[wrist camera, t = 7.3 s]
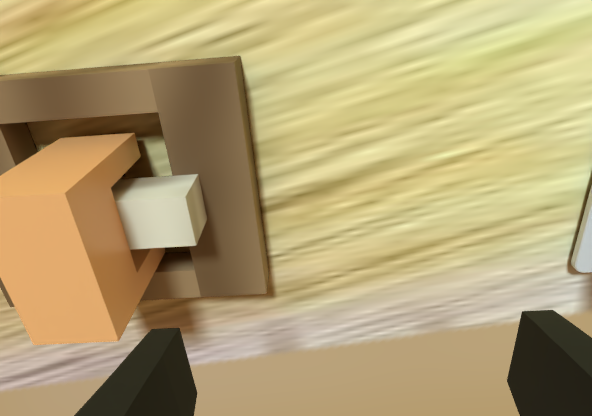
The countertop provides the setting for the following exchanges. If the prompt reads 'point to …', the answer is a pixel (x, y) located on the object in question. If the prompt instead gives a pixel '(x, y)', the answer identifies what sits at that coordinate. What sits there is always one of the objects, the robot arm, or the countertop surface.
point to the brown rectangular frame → (183, 160)
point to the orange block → (72, 241)
